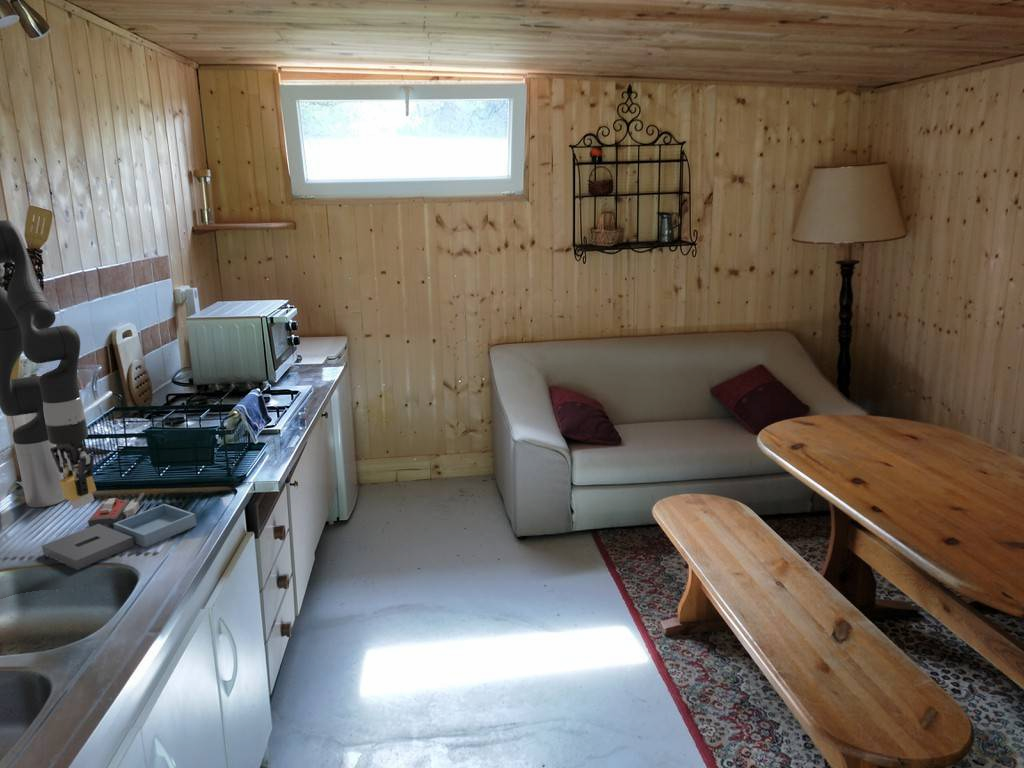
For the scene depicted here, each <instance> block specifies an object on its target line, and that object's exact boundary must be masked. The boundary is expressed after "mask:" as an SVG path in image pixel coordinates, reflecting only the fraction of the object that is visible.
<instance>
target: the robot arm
mask: <svg viewBox="0 0 1024 768" xmlns="http://www.w3.org/2000/svg"><path fill="white" fill-rule="evenodd" d="M11 262H14V270H13V274H12V276H11V279H10V281H9V284H8V286H7V287H8V288H7V290H6V289H4V288H3V287H1V285H0V410H1V413H2V414H4V415H5V416H6V417H17V416H22V415H29V414H36V415H35V417H34V418H32V419H30V421H28V422H27V423H25V424H22V425H21V426H18V427H17V428H15V429H14V430H13V432H12V438H13V439H12V440H13V445H14V449H15V454H16V458H17V462H18V463H17V464H18V467H19V472H20V479H21V482H22V488H23V493H24V494H23V495H24V497H25V502H26V506H27V507H29V508H45V507H50V506H54V505H57V504H59V503H62V502H64V501H65V500H66V499H65V498H64V495H63V492H62V489H61V486H60V482H59V480H62V479H64V478H66V477H68V476H71V475H73V476H74V479H75V484H76V490H77V495H78V496H83V495H86V494H88V492H89V491H88V486H87V480H86V478H87V477H90V476H92V477H93V470H94V459H95V456H94V454H92V453H90V454H87V452H86V448H85V445H84V440H86V438H87V437H88V436H89V431H88V426H87V425H88V424H87V420H86V419H87V418H86V415H85V407H84V404H83V402H82V399H81V393H80V389H79V382H78V381H79V380H78V368H79V366H78V365H79V358H80V352H81V338H80V335H79V333H78V332H77V330H76V329H75V328H73V327H72V326H71V325H66V324H65V325H56V326H53V325H54V323H55V321H56V319H57V318H56V313H55V311H54V309H53V307H52V305H51V303H50V302H49V299H47V298H48V297H47V296H46V294H45V293H44V291H43V289H42V287H41V285H40V283H39V280H38V277H37V274H36V271H35V269H34V265H33V263H32V260H31V257H30V254H29V252H28V250H27V247H26V245H25V242H24V239H23V237H22V235H21V233H20V230H18V228H17V226H16V225H15V224H14V222H12V221H10V220H3V219H2V220H0V264H6V263H11ZM22 353H23V355H24V356H25V358H26V359H27V360H28V361H30V362H32V363H34V364H45V363H51V362H55V361H60V362H59V364H58V366H57V367H55V368H54V369H52V370H50V371H47V372H45V373H43V374H41V375H33V376H25V377H18V378H12V373H13V370H14V367H15V365H16V363H17V361H18V359H19V358H20V357H21V355H22Z"/></svg>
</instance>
